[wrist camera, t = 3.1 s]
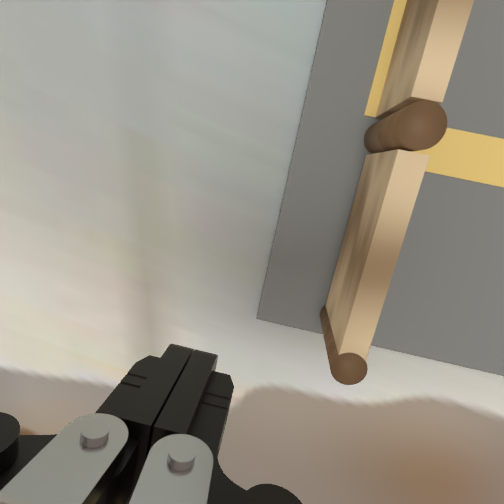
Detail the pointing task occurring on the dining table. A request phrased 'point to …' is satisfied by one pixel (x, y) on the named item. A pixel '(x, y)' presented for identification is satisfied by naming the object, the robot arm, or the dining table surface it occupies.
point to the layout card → (427, 202)
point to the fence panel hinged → (369, 258)
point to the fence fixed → (419, 76)
